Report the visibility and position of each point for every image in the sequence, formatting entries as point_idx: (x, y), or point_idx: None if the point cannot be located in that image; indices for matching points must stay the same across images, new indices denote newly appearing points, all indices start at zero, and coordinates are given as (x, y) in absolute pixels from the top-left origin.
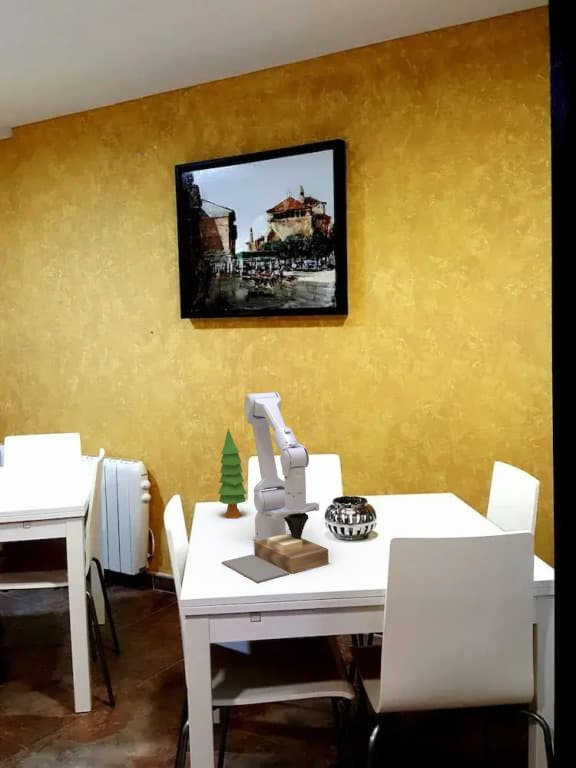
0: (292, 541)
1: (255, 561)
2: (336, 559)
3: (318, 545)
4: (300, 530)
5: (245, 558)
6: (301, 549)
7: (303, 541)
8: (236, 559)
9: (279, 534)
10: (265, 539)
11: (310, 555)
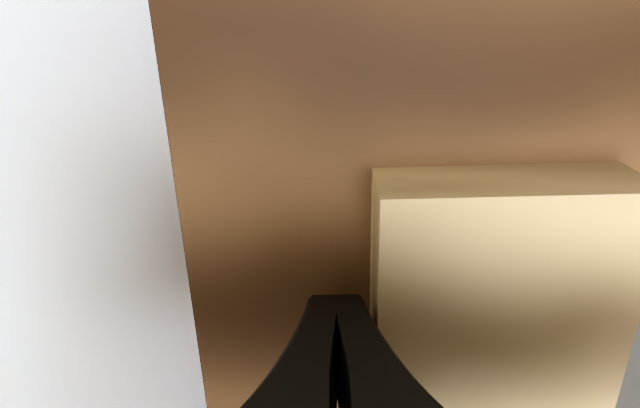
0: (489, 248)
1: (637, 327)
2: (64, 13)
3: (175, 133)
4: (322, 361)
5: (637, 404)
6: (407, 138)
7: (241, 319)
8: None
9: None
10: None
11: None
